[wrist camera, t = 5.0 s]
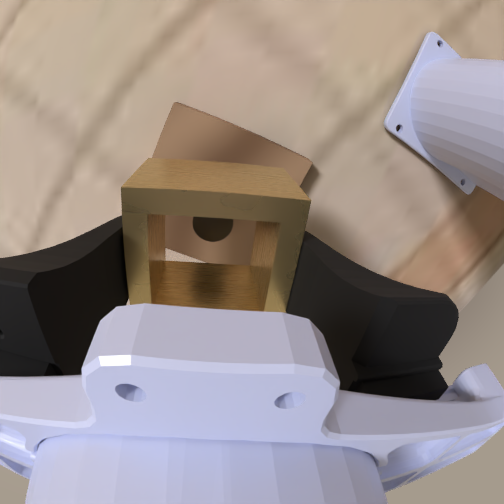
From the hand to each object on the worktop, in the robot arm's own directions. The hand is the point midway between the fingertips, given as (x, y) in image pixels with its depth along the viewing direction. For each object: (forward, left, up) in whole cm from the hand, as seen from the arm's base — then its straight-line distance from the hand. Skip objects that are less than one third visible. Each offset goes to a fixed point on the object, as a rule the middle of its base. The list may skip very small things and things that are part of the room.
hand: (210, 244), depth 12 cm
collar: (0, 0, -2) cm, 2 cm away
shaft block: (0, 0, -6) cm, 6 cm away
